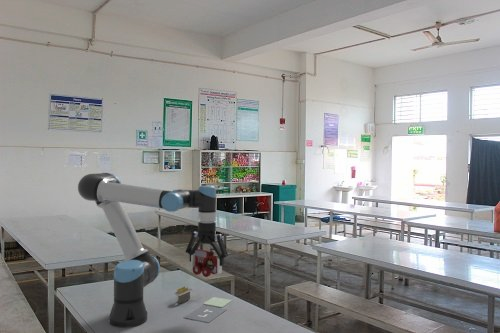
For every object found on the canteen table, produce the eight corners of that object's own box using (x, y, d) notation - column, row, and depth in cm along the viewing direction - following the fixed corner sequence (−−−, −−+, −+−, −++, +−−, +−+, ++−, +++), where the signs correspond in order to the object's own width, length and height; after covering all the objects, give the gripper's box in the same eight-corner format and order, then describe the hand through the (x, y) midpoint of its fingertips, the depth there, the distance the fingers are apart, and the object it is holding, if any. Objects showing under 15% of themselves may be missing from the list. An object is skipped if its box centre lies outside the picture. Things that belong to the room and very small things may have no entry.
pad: (222, 307, 183) (222, 306, 183) (203, 304, 187) (203, 303, 187) (232, 301, 192) (232, 300, 192) (213, 297, 196) (213, 297, 196)
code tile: (208, 322, 166) (208, 322, 166) (183, 317, 171) (183, 317, 171) (226, 310, 180) (226, 309, 180) (203, 305, 185) (203, 305, 185)
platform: (159, 305, 187) (160, 290, 187) (185, 294, 202) (185, 281, 202) (179, 310, 181) (180, 295, 180) (204, 298, 196) (204, 285, 196)
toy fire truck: (212, 278, 169) (212, 253, 169) (189, 273, 176) (190, 249, 176) (222, 275, 175) (222, 250, 175) (200, 270, 182) (200, 247, 182)
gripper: (236, 222, 174) (235, 272, 174) (187, 218, 183) (186, 265, 184) (228, 225, 167) (227, 277, 167) (178, 220, 177) (177, 269, 177)
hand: (206, 271), depth 175 cm, fingers closed on toy fire truck, 12 cm apart
